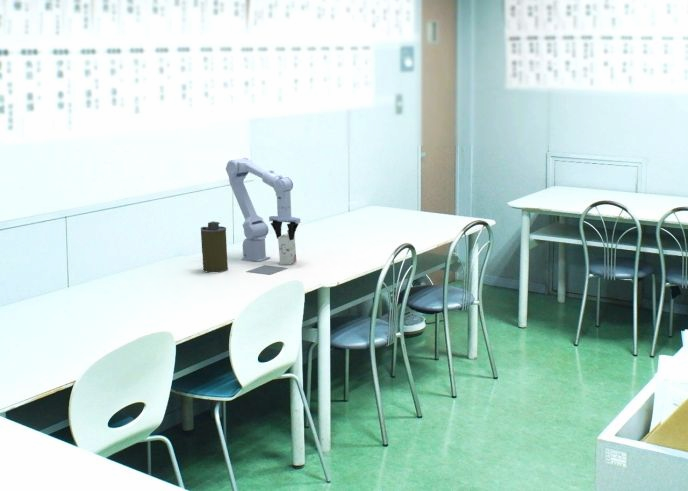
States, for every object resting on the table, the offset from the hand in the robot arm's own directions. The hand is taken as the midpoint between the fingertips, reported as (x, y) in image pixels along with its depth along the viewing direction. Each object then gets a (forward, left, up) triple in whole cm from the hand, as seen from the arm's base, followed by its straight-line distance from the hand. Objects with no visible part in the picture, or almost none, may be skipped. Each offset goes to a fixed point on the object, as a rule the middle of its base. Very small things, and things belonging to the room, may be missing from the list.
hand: (285, 239), depth 414 cm
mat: (0, -14, -10) cm, 17 cm away
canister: (-20, -23, -11) cm, 32 cm away
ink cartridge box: (0, +1, -11) cm, 11 cm away
